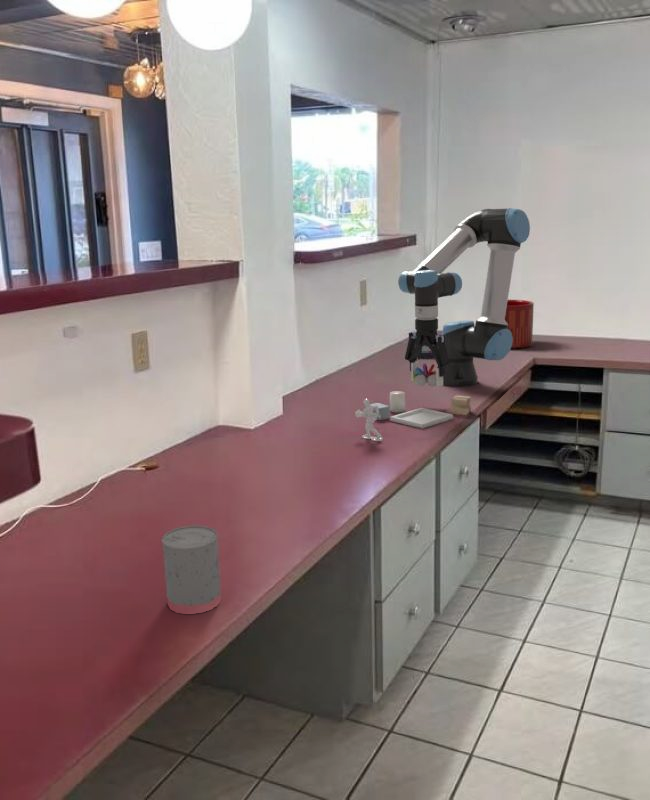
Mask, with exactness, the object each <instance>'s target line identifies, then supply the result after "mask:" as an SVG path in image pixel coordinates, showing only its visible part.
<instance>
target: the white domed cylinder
mask: <svg viewBox="0 0 650 800" xmlns="http://www.w3.org/2000/svg"><path fill="white" fill-rule="evenodd" d="M389 412H391V413H398V414H399V413H405V412H406V392H405V391H399V390H396V391H395V390H394V391H390V392H389Z"/></svg>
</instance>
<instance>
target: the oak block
mask: <svg viewBox="0 0 650 800" xmlns="http://www.w3.org/2000/svg"><path fill="white" fill-rule="evenodd" d="M471 402H472V397H471V396H468V395H467V396H466V395H465V396H464V395H455V396H453V397H452V398H451V400H450V409H451V410H450V414H452V415H460V414H462V415H461V416H467V415H468V414H470V413H471V412H472V411H471V409H472V408H471V406H472V403H471Z"/></svg>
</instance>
